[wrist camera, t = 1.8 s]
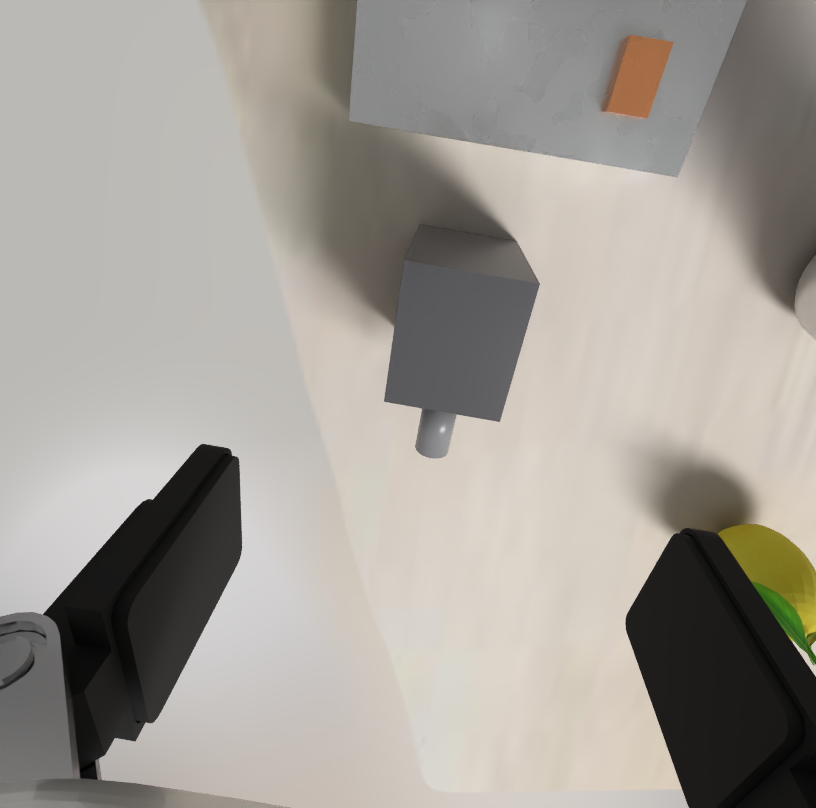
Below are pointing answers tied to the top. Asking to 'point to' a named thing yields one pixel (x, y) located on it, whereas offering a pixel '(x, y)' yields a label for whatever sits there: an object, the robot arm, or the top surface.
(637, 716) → the top surface
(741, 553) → the lemon
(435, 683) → the top surface
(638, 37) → the socket plate
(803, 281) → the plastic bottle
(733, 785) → the robot arm
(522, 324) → the plug
